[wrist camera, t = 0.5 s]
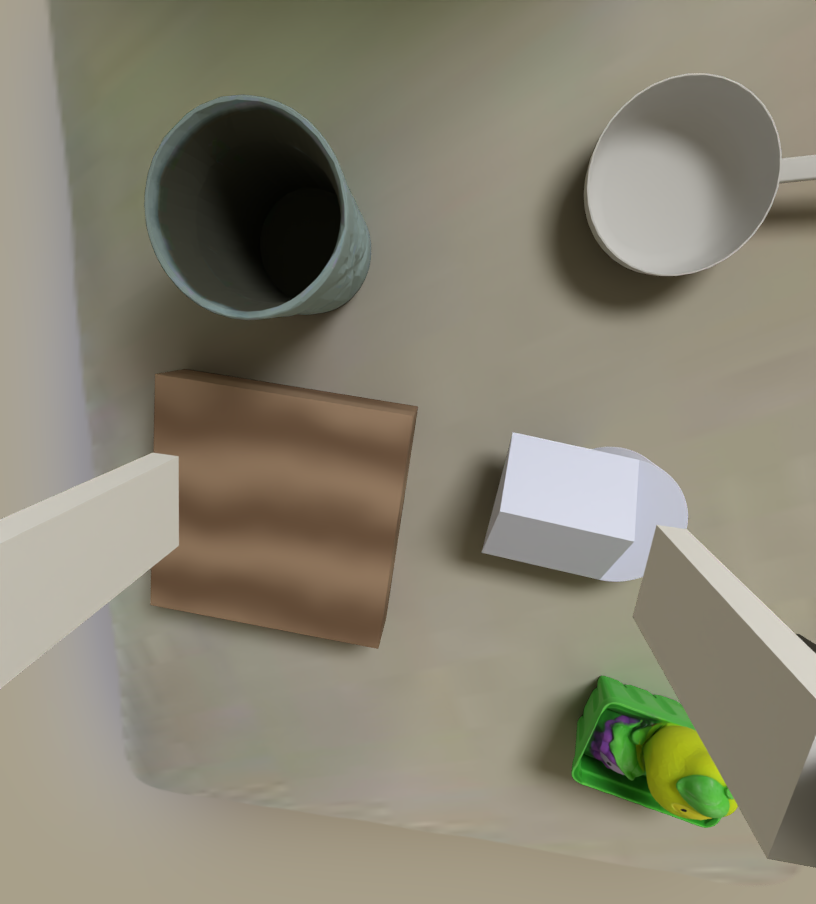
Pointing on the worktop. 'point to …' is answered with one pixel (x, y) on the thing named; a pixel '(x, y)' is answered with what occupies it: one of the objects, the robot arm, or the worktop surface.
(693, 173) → the small pan
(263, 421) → the walnut stand
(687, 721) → the fruit basket
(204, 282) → the grey cup
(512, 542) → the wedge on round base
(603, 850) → the worktop surface
